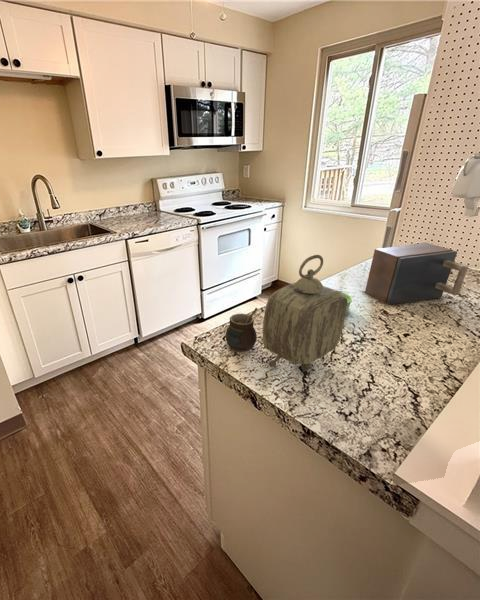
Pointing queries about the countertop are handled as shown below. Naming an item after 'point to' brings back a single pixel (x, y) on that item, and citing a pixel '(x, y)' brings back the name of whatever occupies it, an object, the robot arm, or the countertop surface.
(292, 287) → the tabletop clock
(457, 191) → the robot arm
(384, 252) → the cupboard
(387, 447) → the countertop surface
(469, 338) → the countertop surface
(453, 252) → the cupboard door
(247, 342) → the mate gourd
